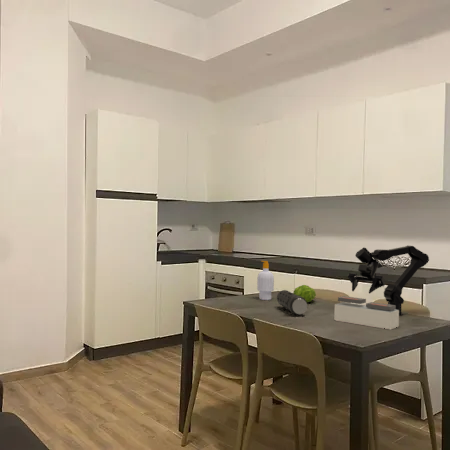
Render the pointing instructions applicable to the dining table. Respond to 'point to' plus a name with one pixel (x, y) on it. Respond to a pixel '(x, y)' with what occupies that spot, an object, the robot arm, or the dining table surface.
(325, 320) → the dining table surface
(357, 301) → the key
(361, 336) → the dining table surface
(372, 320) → the switch block
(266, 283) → the soap bottle
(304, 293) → the lettuce
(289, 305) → the grey foam roller
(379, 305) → the key
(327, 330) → the dining table surface
